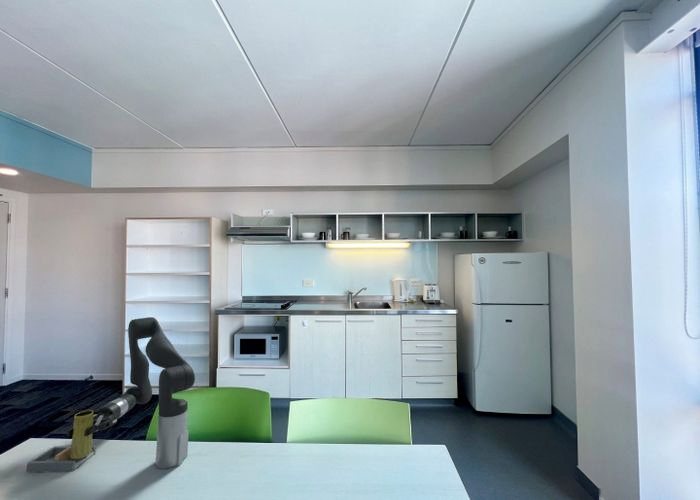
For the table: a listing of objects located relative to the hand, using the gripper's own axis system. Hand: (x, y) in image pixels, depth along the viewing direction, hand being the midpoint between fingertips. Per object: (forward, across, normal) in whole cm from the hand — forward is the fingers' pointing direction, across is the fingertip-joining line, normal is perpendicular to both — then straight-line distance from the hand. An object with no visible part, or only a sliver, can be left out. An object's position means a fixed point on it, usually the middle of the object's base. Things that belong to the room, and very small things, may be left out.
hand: (76, 433), depth 107 cm
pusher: (-2, -5, +10) cm, 12 cm away
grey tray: (-2, -6, +11) cm, 13 cm away
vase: (-3, 0, +9) cm, 9 cm away
